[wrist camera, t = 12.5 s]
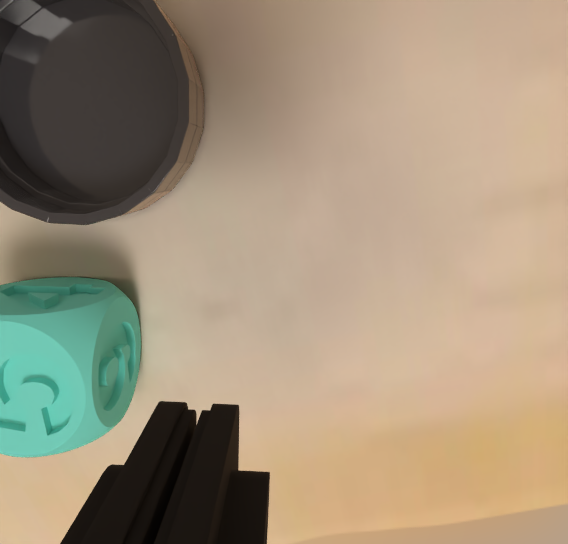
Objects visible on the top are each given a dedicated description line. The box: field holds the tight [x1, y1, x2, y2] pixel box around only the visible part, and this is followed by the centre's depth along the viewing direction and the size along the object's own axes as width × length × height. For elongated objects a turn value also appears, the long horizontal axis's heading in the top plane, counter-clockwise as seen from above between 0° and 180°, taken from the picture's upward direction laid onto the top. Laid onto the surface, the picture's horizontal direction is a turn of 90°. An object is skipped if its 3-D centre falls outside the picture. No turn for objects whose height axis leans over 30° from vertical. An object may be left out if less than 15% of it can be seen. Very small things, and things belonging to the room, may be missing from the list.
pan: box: [0, 0, 204, 225], centre depth 24 cm, size 13×13×4 cm
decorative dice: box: [0, 277, 141, 457], centre depth 26 cm, size 8×8×8 cm
